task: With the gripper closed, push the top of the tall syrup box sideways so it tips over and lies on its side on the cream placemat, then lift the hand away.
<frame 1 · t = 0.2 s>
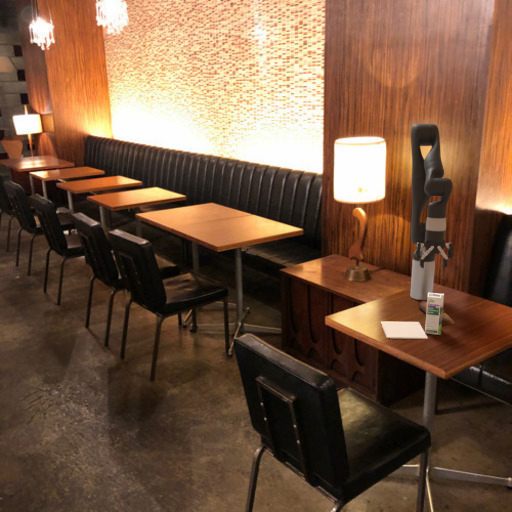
hand: (432, 267, 219), 18 cm above the table, tool pointing down, fingers open, 8 cm apart
placemat: (403, 330, 202), on the table
syrup box: (432, 332, 201), on the table
sunglasses case: (436, 317, 216), on the table
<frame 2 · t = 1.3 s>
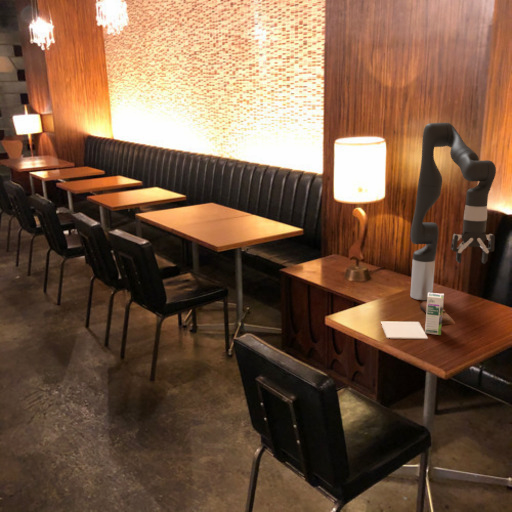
hand: (471, 262, 194), 27 cm above the table, tool pointing down, fingers open, 8 cm apart
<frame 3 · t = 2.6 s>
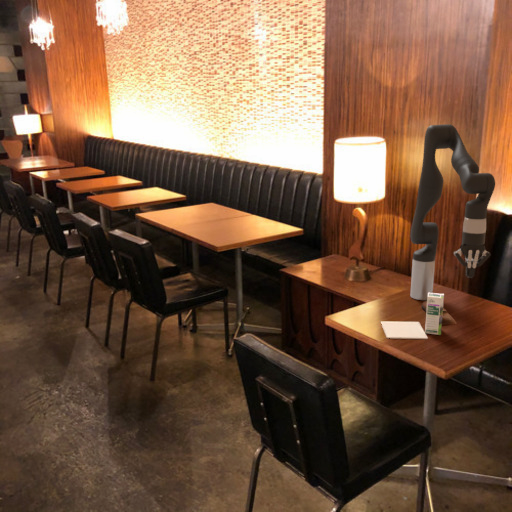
hand: (469, 277, 194), 21 cm above the table, tool pointing down, fingers closed
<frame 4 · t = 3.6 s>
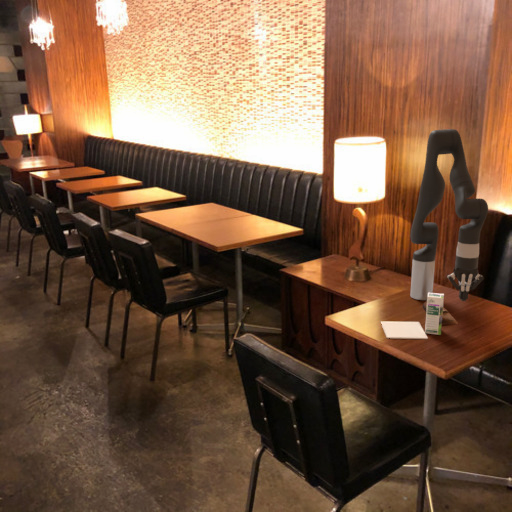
hand: (463, 300, 197), 13 cm above the table, tool pointing down, fingers closed
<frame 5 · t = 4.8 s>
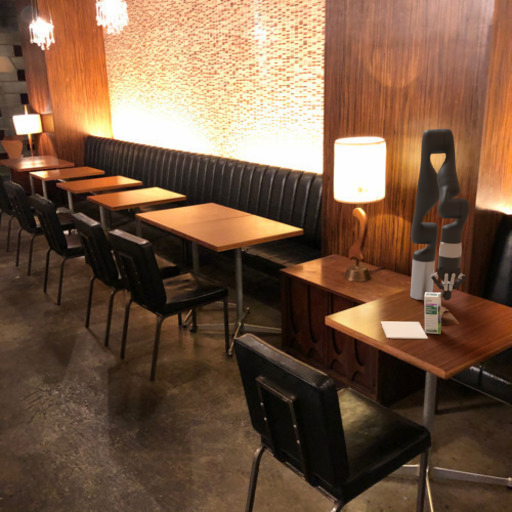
hand: (446, 299, 197), 13 cm above the table, tool pointing down, fingers closed
syrup box: (432, 331, 201), on the table, touching gripper
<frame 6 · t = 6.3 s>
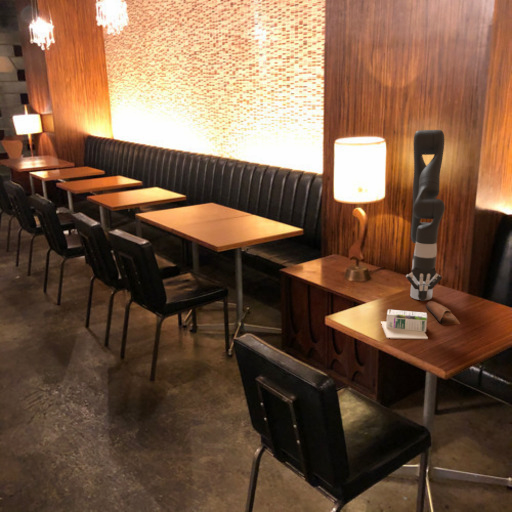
hand: (421, 299, 198), 13 cm above the table, tool pointing down, fingers closed
syrup box: (427, 322, 201), point 3 cm above the table, touching placemat
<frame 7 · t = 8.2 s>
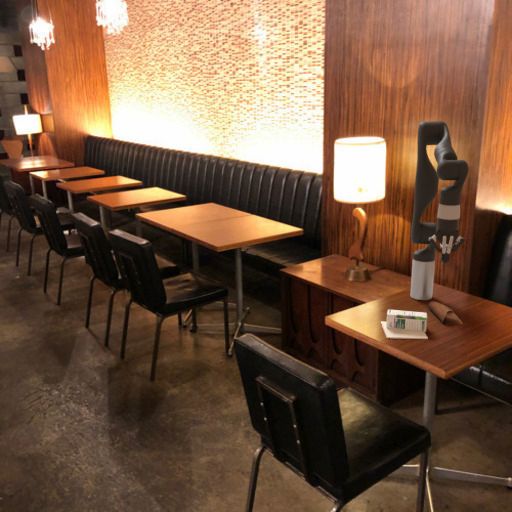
hand: (444, 262, 198), 25 cm above the table, tool pointing down, fingers closed
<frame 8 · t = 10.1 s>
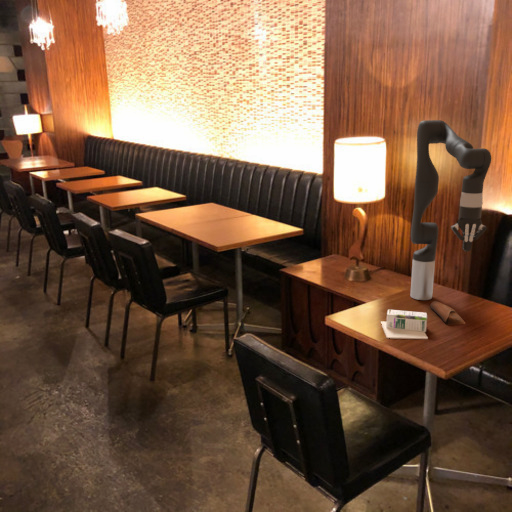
hand: (466, 250, 200), 29 cm above the table, tool pointing down, fingers closed
at the end: syrup box tilted 90°; syrup box inside the target area (2.1 cm from its centre), point 3.3 cm above the table; syrup box touching placemat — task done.
